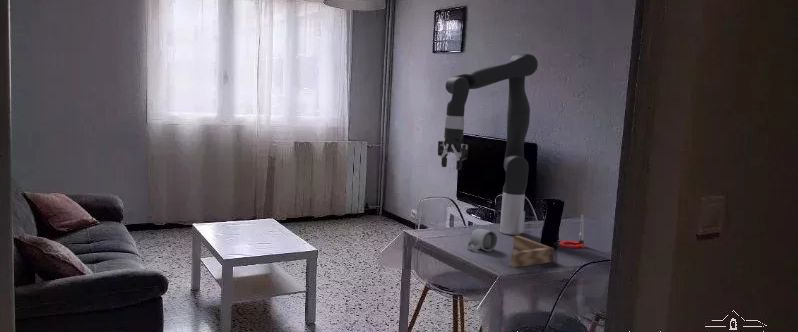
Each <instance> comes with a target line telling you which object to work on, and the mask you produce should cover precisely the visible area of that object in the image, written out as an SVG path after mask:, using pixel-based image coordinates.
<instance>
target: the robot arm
mask: <svg viewBox="0 0 798 332" xmlns="http://www.w3.org/2000/svg"><path fill="white" fill-rule="evenodd" d="M538 65H539V62H538V59H537V58H536V56H535V55H534V54H531V53H516V54H514V55H512V56H511V57H510V59H509V61H508V62H506V63H503V64H499V65H493V66H489V67H484V68H483V67H482V68H481V69H476V70H474V71H471V72H468V73H463V74H458V75H454V76H451V77H449V78H448V79H447V80H446V82H445V90H446V91H447V92H448V93H449V94H451V100H449V101H448V102H447V105H446V115H445V123H444V132H443V133H444V140H438V141H437V155H438V156H439V157H441V167H442V168H446V167H447V165H448V164H447V163H448V158H447V157H448V156H449V154H450V153H452V154H454V156H455V157H456V166H455V168H456V170H457V171H460V170H462V167H463V161H464V160H467V159H468V154H469V147H470V145H469V144H464V143H463V140H464V129H465V117H464V116H465V111H466V110H465V106H466V103H467V101H468V96H469V93H470V90H477V89H481V88H484V87H487V86H490V85H494V84H496V83H499V82H502V81H505V80H508V102H507V104H508V106H507V118H506V147H505V148H506V149H505V152H504V153H505V154H504V159H503V169H504V171H505V180H504V181H505V182H504V185H503V186H502V199H501V210H500V223H499V224H500V225H499V232H500V233H502V234H505V235H513V236H520V235H521V234H523V233H524V229H525V218H526V217H525V216H526V211H525V210H524V207H525V197H526V189H527V186H528V178H529V168H530V167H529V162H528V160H527V159H526V158H525V155H524V153H525V140H526V136H527V134H528V130H529V128H530V127H529V126H530V117H531V106H530V103H529V100H528V96H527V93H526V90H525V84H526V83H525V82H526V77H530V76H532V75H533V74H534V73H536V71H537V69H538V68H539V67H538Z"/></svg>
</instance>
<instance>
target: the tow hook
mask: <svg viewBox="0 0 798 332" xmlns="http://www.w3.org/2000/svg"><path fill="white" fill-rule="evenodd" d="M584 222H585V220H584V214H581V218H580V226H579V227H580V228H579V234H578V236H579V237H578V241H574V240H562V241H560V242H559V246H560V247H562V248H563V247H564V248H570V249H579V248H581V249H585V248H586V246H585V243H584V242H585V241H584Z"/></svg>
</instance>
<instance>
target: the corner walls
mask: <svg viewBox="0 0 798 332" xmlns="http://www.w3.org/2000/svg"><path fill="white" fill-rule="evenodd" d="M512 249H513V250H516V251H511V252H510V255H511V256H510V267H512V268H514V267H515V268H520V267H526V266H534V265H541V264H548V263H553V262H554V254H555V248H554V247H551V246H548V245H547V244H546V245H545V244H543V243H540V242H538V241H534V240H532V239H529V238H526V237H523V236H521V235H513V242H512Z"/></svg>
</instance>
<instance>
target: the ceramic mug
mask: <svg viewBox="0 0 798 332" xmlns="http://www.w3.org/2000/svg"><path fill="white" fill-rule="evenodd" d="M497 244H498V236H497V234H496V232H494V231H493V230H489V229H484V228H476V229H474V230H473V231H472V232H471V235H470V241H468V242H467V243H466V247H467V250H469V251H471V252H473V251H474V252H475V251H477V250H483V251H485V252H491V251H493V250H494V249H495V248H496V246H497Z"/></svg>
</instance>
